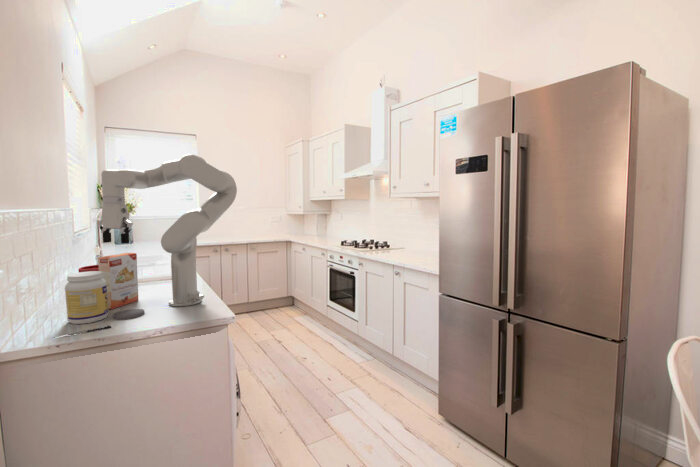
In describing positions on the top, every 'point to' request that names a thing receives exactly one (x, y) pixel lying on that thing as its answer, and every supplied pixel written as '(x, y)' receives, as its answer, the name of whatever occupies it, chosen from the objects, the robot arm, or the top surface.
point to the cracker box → (120, 278)
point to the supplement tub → (86, 297)
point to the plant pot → (89, 268)
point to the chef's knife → (90, 330)
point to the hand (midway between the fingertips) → (116, 242)
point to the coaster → (128, 314)
